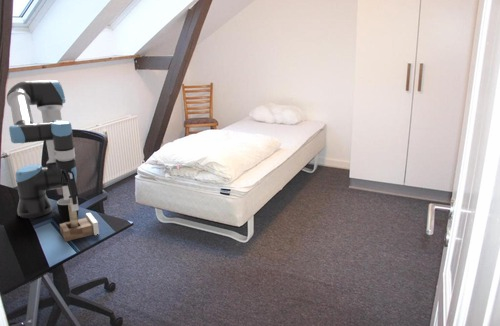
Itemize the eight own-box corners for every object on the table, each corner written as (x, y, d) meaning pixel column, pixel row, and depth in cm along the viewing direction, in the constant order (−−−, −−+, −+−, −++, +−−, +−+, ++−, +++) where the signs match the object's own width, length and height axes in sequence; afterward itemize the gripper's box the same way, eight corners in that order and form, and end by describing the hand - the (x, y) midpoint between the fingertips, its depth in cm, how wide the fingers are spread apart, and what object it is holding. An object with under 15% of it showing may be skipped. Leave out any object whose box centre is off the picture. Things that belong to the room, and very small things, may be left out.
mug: (80, 222, 186) (78, 203, 183) (59, 226, 182) (56, 206, 179) (79, 212, 196) (77, 193, 193) (59, 215, 192) (56, 196, 189)
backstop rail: (86, 225, 184) (85, 213, 182) (91, 224, 185) (90, 212, 183) (94, 235, 174) (93, 223, 173) (99, 234, 176) (97, 222, 174)
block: (60, 232, 176) (59, 223, 174) (87, 226, 182) (86, 217, 181) (65, 241, 169) (64, 232, 167) (93, 234, 175) (92, 225, 174)
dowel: (71, 232, 175) (67, 203, 171) (78, 230, 177) (74, 202, 173) (72, 235, 173) (68, 206, 169) (79, 233, 175) (76, 204, 170)
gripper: (49, 152, 171) (55, 196, 178) (62, 168, 153) (69, 217, 160) (67, 149, 176) (73, 193, 183) (82, 165, 157) (88, 213, 164)
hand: (71, 204), depth 171 cm, fingers open, 13 cm apart
